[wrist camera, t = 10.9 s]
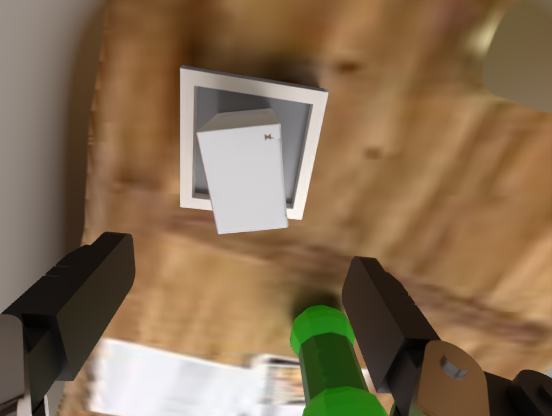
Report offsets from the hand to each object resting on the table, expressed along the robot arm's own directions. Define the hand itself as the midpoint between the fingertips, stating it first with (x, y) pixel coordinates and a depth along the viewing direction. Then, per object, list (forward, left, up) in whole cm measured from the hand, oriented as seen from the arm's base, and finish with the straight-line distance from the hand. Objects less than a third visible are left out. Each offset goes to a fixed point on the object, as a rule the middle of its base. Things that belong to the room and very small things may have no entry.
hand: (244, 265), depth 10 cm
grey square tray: (0, 0, -24) cm, 24 cm away
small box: (0, 0, -20) cm, 20 cm away
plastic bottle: (+27, +14, -24) cm, 39 cm away
